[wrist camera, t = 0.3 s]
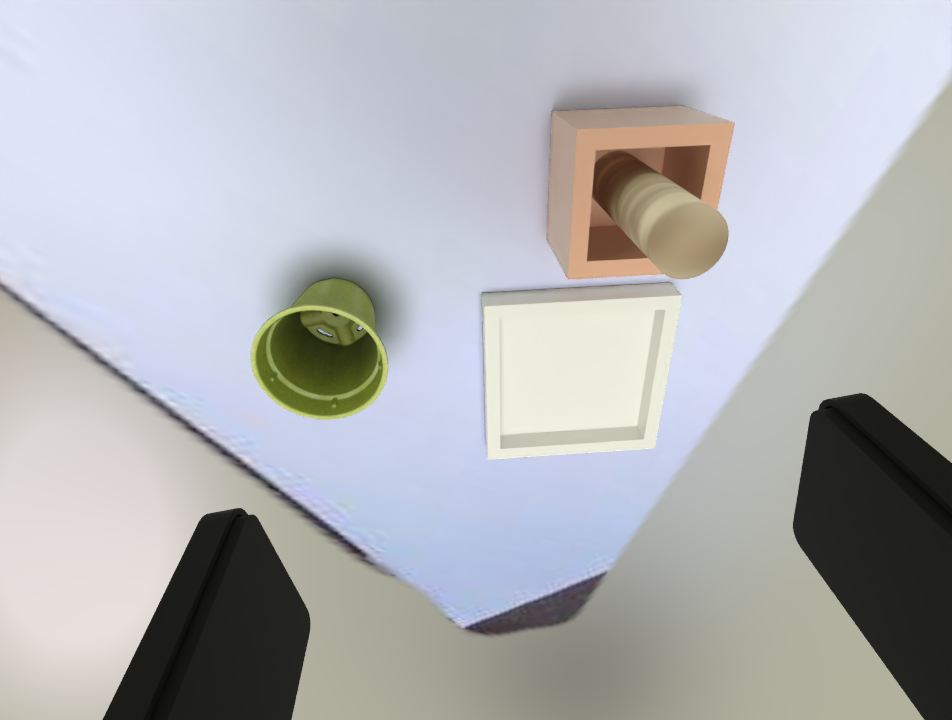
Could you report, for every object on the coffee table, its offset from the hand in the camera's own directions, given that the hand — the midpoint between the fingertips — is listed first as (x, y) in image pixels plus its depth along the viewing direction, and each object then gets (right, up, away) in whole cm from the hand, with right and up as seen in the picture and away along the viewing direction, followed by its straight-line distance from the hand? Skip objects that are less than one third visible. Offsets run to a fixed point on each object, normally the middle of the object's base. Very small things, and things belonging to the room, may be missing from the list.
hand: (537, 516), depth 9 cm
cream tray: (+8, +2, +41) cm, 42 cm away
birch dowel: (+9, +16, +31) cm, 36 cm away
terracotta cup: (+9, +17, +32) cm, 37 cm away
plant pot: (-12, +7, +37) cm, 39 cm away
